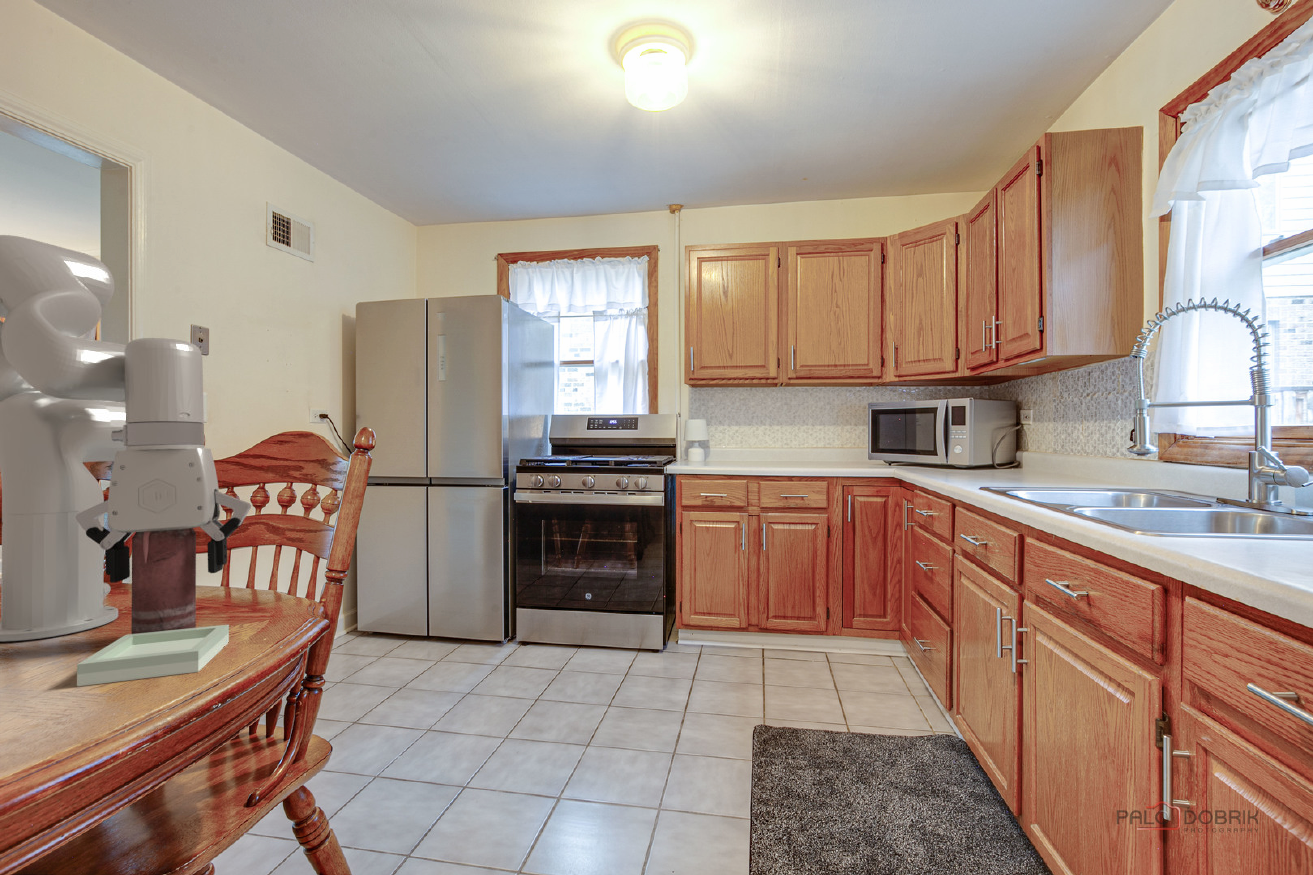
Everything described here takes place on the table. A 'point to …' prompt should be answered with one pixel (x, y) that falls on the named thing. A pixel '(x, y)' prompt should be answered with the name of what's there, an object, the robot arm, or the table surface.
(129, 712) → the table surface
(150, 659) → the plate
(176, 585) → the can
